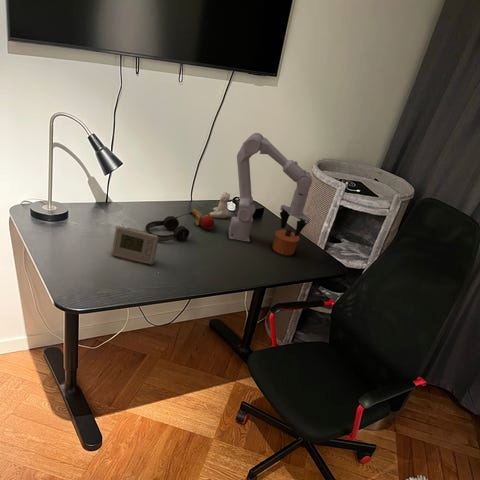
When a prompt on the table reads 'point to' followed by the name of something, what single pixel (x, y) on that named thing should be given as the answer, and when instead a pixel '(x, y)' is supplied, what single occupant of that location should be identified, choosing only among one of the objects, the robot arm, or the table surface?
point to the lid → (287, 235)
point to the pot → (284, 246)
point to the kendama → (203, 220)
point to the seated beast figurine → (221, 207)
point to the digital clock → (134, 245)
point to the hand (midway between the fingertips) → (289, 231)
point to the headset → (170, 228)
